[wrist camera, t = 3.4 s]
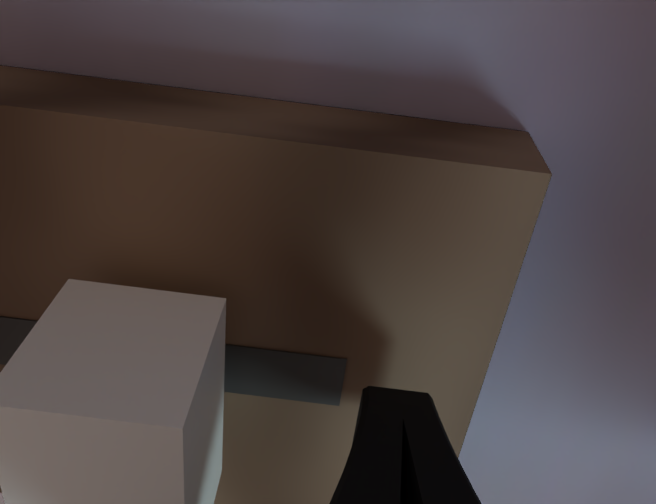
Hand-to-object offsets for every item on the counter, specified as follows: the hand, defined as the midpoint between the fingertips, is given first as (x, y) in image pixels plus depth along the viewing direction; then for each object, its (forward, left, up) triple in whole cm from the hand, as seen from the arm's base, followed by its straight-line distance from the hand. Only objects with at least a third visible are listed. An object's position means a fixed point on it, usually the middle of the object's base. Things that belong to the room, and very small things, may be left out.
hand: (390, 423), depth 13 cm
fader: (+5, 0, -1) cm, 5 cm away
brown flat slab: (+8, 0, -3) cm, 9 cm away
